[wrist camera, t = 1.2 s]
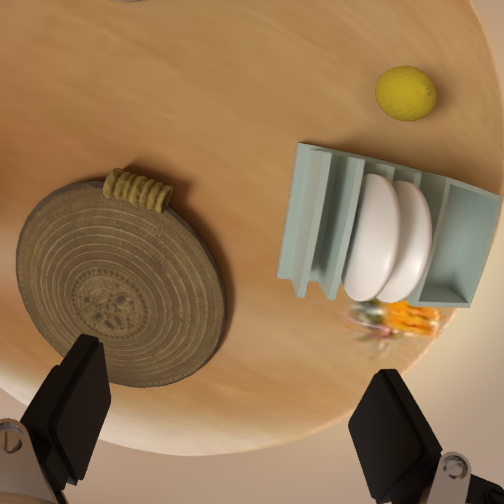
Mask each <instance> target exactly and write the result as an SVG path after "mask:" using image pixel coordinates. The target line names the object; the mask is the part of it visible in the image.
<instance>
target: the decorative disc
mask: <svg viewBox="0 0 504 504" xmlns="http://www.w3.org/2000/svg"><path fill="white" fill-rule="evenodd" d="M172 192H173V186H170V185H164V184H163V183H162V182H156V181H155V180H154V179H148V178H147V177H146V176H138V175H136V174H132V173H130V172H125V171H123V170H122V169H120V168H116V169H113V170H112V171H111V172H110V174H109V175H108V176H107V178H106V181H105V182H103V181H88V182H80V183H73V184H71V185H68V186H65V187H63V188H60V189H58V190H55V191H54V192H52V193H51V194H50V195H48V196H47V197H46V198H44V199H43V200H42V201H40V202H39V203H38V204H37V206H36V207H35V208H34V209H33V211H32V212H31V213H30V215H29V216H28V217H27V219H26V221H25V224H24V226H23V228H22V230H21V232H20V236H19V240H18V245H17V250H16V276H17V282H18V287H19V290H20V293H21V296H22V299H23V302H24V305H25V308H26V310H27V311H28V313H29V315H30V317H31V319H32V321H33V323H34V324H35V326H36V328H37V329H38V331H39V332H40V333H41V335H42V336H43V337H44V338H45V339H46V340H47V341H48V343H49V344H50V345H51V346H52V347H53V348H54V349H55V350H56V351H57V352H58V353H59V354H60V355H61V356H62V357H63V358H65V356H66V355H67V353H68V352H69V350H70V349H71V347H72V346H73V344H74V343H75V341H76V340H77V338H78V337H79V335H80V334H82V333H83V334H87V335H91V336H95V337H98V339H99V342H102V343H103V345H104V353H105V361H106V368H107V375H108V381H109V382H110V383H115V384H119V385H123V386H128V387H138V388H145V387H158V386H165V385H168V384H172V383H175V382H178V381H180V380H182V379H184V378H186V377H188V376H191V375H192V374H194V373H195V372H196V371H197V370H199V369H200V368H201V367H203V366H204V365H205V364H206V363H207V361H208V360H209V359H210V358H211V357H212V355H213V354H214V353H215V352H216V350H217V347H218V345H219V343H220V341H221V339H222V336H223V334H224V328H225V323H226V317H227V309H226V293H225V290H224V286H223V283H222V279H221V275H220V272H219V269H218V267H217V265H216V263H215V262H214V260H213V258H212V256H211V254H210V252H209V250H208V248H207V246H206V245H205V244H204V243H203V241H202V240H201V239H200V237H199V236H198V235H197V234H196V232H195V231H194V230H193V228H192V227H191V226H190V225H189V224H188V223H187V222H186V221H185V220H183V219H182V218H181V217H180V216H179V215H178V214H177V213H176V212H174V211H173V210H172V209H171V208H170V207H169V206H168V204H169V200H170V197H171V195H172Z"/></svg>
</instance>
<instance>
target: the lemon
mask: <svg viewBox="0 0 504 504" xmlns="http://www.w3.org/2000/svg"><path fill="white" fill-rule="evenodd" d="M375 95H376V99H377V102H378V104H379V106H380V107H381V109H382V110H383V111H384V112H385V113H386V114H387V115H389V116H390V117H392V118H394V119H397V120H400V121H416V120H419V119H422V118H424V117H425V116H427V115H428V114H429V113H430V112H431V111H432V110H433V108H434V106H435V104H436V99H437V94H436V89H435V86H434V84H433V82H432V80H431V79H430V78H429V76H428V75H426V74H425V73H424V72H423V71H421V70H419V69H417V68H414V67H410V66H398V67H394V68H391V69H389V70H387V71H386V72H385V73H383V74H382V75H381V76H380V78H379V80H378V81H377V84H376V88H375Z"/></svg>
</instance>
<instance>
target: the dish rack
mask: <svg viewBox="0 0 504 504" xmlns="http://www.w3.org/2000/svg"><path fill="white" fill-rule="evenodd" d="M501 202H502V196H499V195H496V194H494V193H491V192H489V191H486V190H483V189H481V188H478V187H475V186H472V185H469V184H466V183H464V182H461V181H458V180H455V179H452V178H449V177H445V176H441V175H437V174H433V173H429V172H424V171H421V170H417V169H414V168H410V167H406V166H403V165H399V164H395V163H391V162H387V161H383V160H379V159H375V158H371V157H367V156H362V155H358V154H353V153H349V152H344V151H339V150H334V149H329V148H324V147H319V146H314V145H308V144H302V143H297V148H296V154H295V161H294V168H293V175H292V181H291V188H290V194H289V201H288V207H287V213H286V219H285V226H284V232H283V238H282V244H281V250H280V256H279V262H278V267H277V273H276V275H277V278H281V279H291V282H292V285H293V287H294V290H295V293H296V296H297V297H301V298H305V293H306V289H307V284H308V281H314V282H319V284H320V286H321V288H322V289H323V291H324V293H325V295H326V297H327V299H328V300H335V298H336V294H337V290H338V286H339V284H343V287H344V289H345V291H346V293H347V294H348V296H349V297H350V298H352V299H353V300H356V301H358V302H363V301H369V300H372V299H374V298H375V297H377V298H378V299H379V300H381V301H382V302H383V303H389V302H392V303H396V302H400V301H403V300H404V299H406V300H407V301H408V302H409V303H410V304H411V306H419V307H457V308H469V307H470V305H471V302H472V300H473V297H474V295H475V291H476V289H477V286H478V284H479V281H480V278H481V275H482V272H483V269H484V266H485V263H486V260H487V257H488V253H489V250H490V246H491V243H492V239H493V236H494V232H495V228H496V224H497V220H498V216H499V211H500V207H501Z"/></svg>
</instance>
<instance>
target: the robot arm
mask: <svg viewBox="0 0 504 504" xmlns="http://www.w3.org/2000/svg"><path fill="white" fill-rule="evenodd" d="M116 1H125V2H127V1H138V0H116ZM110 404H111V393H110V387H109V381H108V375H107V368H106V361H105V353H104V345H103V343H102V342H99V339H98V337H95V336H91V335H87V334H83V333H82V334H80V335H79V337H78V338H77V340H76V341H75V343H74V344H73V346H72V347H71V349H70V350H69V352H68V353H67V355H66V356H65V358H64V359H63V361H62V362H61V364H60V365H56V366H54V367H53V368H52V370H51V371H50V373H49V374H48V376H47V377H46V379H45V380H44V382H43V383H42V385H41V387H40V388H39V390H38V391H37V393H36V395H35V396H34V398H33V400H32V401H31V403H30V404H29V406H28V408H27V410H26V411H25V413H24V415H23V416H22V418H21V420H20V422H18V421H17V420H14V419H10V418H5V419H0V504H69V503H68V501H67V499H66V497H65V495H64V493H63V490H64V488H65V485H66V483H69V484H72V485H75V486H76V485H77V482H78V479H79V480H83V479H84V476H85V473H86V470H87V467H88V464H89V462H90V459H91V456H92V453H93V450H94V447H95V444H96V442H97V439H98V436H99V434H100V431H101V428H102V425H103V423H104V420H105V418H106V415H107V412H108V410H109V407H110ZM348 428H349V431H350V434H351V437H352V440H353V443H354V446H355V449H356V452H357V455H358V458H359V461H360V464H361V467H362V469H363V473H364V476H365V479H366V482H367V485H368V488H369V491H370V494H371V497H372V498H374V499H375V500H376V503H377V504H384V503H388V502H390V501H391V503H392V504H504V489H503V488H502V487H500V486H499V485H497V484H495V483H492V482H490V481H487V480H485V479H483V478H480V477H478V476H475V475H473V474H471V466H470V463H469V461H468V460H467V459H466V458H465V457H464V456H463V455H461V454H459V453H457V452H447V453H445V454H444V455H443V456H442V455H441V453H440V452H441V451H442V450H443V449H442V447H441V445H440V444H439V442H438V440H437V438H436V437H435V435H434V433H433V431H432V429H431V427H430V426H429V424H428V422H427V421H426V418H425V417H424V415H423V414H422V412H421V410H420V408H419V406H418V405H417V403H416V402H415V400H414V398H413V396H412V394H411V393H410V391H409V389H408V388H407V386H406V384H405V383H404V381H403V379H402V378H401V376H400V374H399V373H398V371H397V370H396V369H381V370H379V371H378V373H376V374H375V375H374V376H373V378H372V380H371V382H370V384H369V386H368V388H367V390H366V391H365V393H364V395H363V397H362V399H361V401H360V402H359V404H358V406H357V408H356V409H355V411H354V413H353V415H352V416H351V418H350V420H349V424H348Z"/></svg>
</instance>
